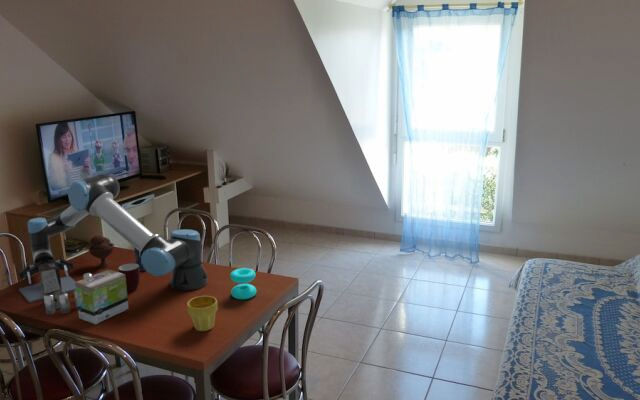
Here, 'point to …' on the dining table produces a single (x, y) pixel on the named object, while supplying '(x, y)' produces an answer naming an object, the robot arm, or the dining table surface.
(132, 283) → the mug
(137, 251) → the soda can
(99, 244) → the ice cream bowl
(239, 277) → the donuts
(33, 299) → the felt mat
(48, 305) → the posts
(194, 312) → the plant pot
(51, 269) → the coffee box
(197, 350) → the dining table surface
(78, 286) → the tea box
